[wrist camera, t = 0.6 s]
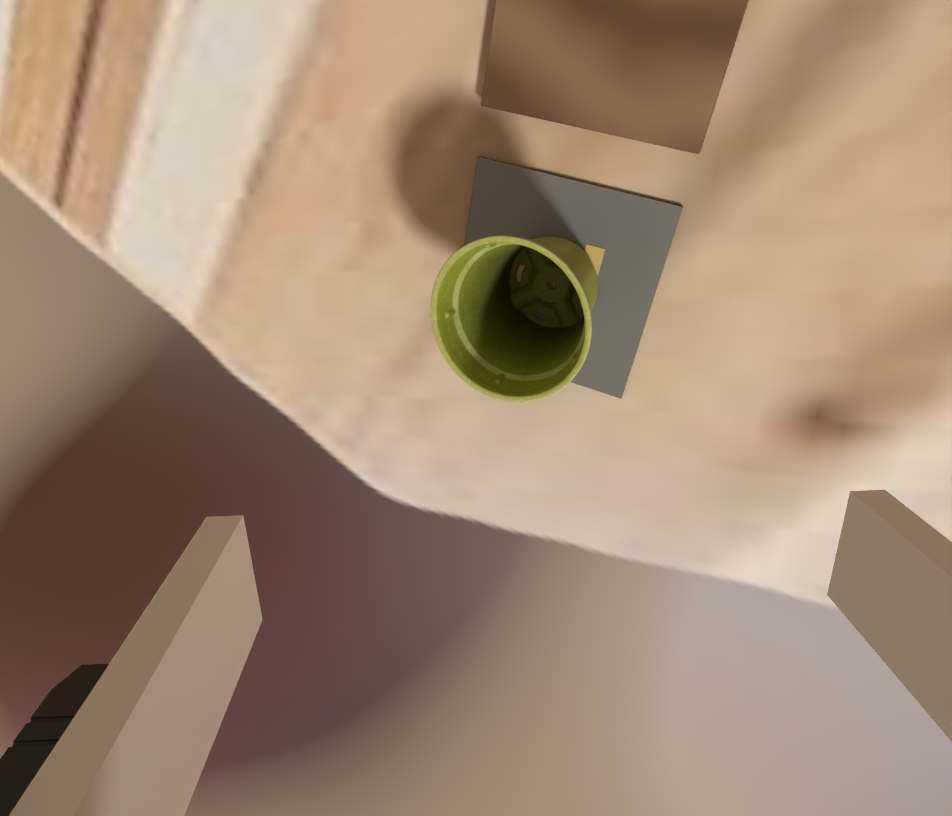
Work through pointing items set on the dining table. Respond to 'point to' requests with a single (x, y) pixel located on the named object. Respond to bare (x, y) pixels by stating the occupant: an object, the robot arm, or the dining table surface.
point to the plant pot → (515, 315)
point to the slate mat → (603, 239)
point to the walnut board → (614, 64)
